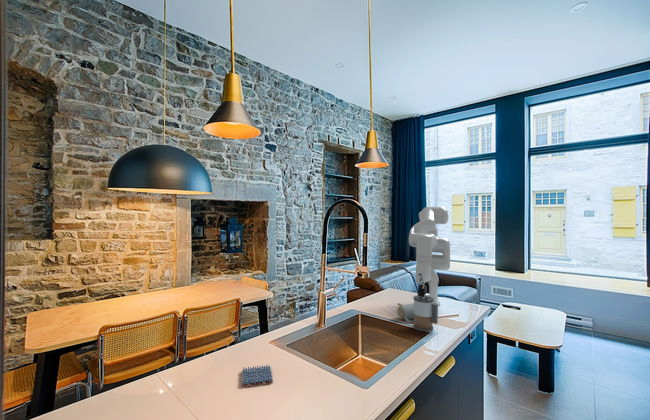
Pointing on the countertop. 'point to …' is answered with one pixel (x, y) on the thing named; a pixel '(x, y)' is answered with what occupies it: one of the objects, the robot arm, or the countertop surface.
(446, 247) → the robot arm
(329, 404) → the countertop surface
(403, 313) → the ceramic mug
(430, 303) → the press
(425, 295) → the plunger
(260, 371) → the blue-grey spiked square pad
